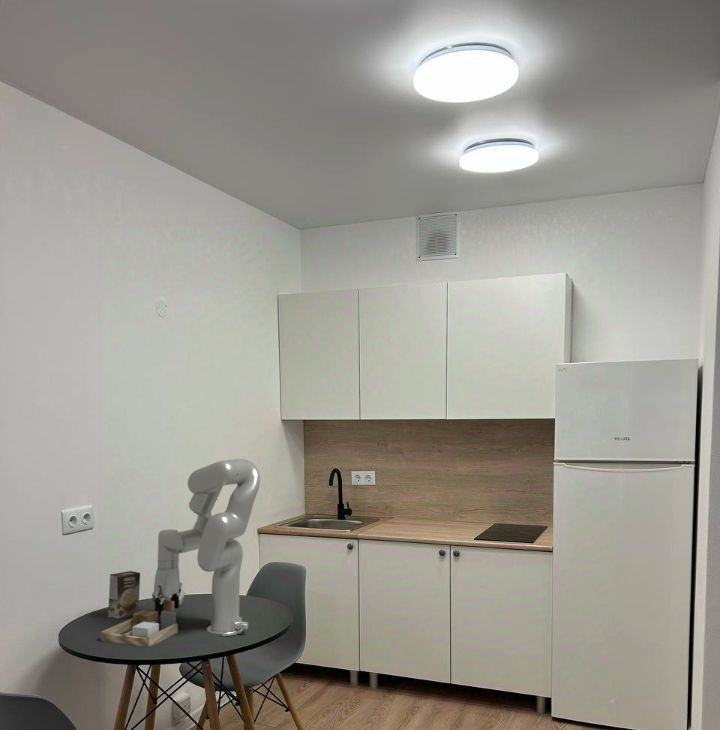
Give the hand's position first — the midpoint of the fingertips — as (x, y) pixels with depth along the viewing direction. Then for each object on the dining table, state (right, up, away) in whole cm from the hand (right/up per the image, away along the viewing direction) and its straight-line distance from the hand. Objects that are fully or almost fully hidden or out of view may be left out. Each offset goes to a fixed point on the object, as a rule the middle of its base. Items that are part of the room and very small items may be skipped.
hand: (166, 611), depth 255 cm
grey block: (+2, -1, -21) cm, 22 cm away
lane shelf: (-2, -2, -19) cm, 19 cm away
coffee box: (-17, -4, +4) cm, 18 cm away
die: (-3, -5, +20) cm, 21 cm away
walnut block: (-2, -2, -7) cm, 8 cm away
